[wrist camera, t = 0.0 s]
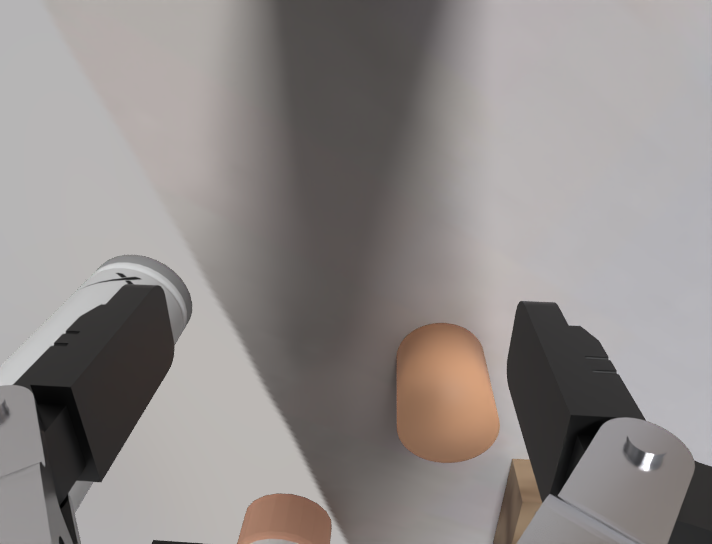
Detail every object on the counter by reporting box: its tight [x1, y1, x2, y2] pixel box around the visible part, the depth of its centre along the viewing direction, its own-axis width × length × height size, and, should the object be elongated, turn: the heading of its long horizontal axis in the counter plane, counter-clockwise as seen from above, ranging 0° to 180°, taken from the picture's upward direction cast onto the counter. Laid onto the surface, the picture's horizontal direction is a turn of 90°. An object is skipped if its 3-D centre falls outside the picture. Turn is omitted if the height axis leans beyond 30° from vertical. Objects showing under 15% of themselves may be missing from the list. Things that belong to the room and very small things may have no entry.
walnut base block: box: [493, 459, 542, 544], centre depth 39 cm, size 10×10×4 cm
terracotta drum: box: [397, 323, 500, 463], centre depth 31 cm, size 6×6×6 cm
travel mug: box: [0, 255, 192, 513], centre depth 24 cm, size 6×7×20 cm
